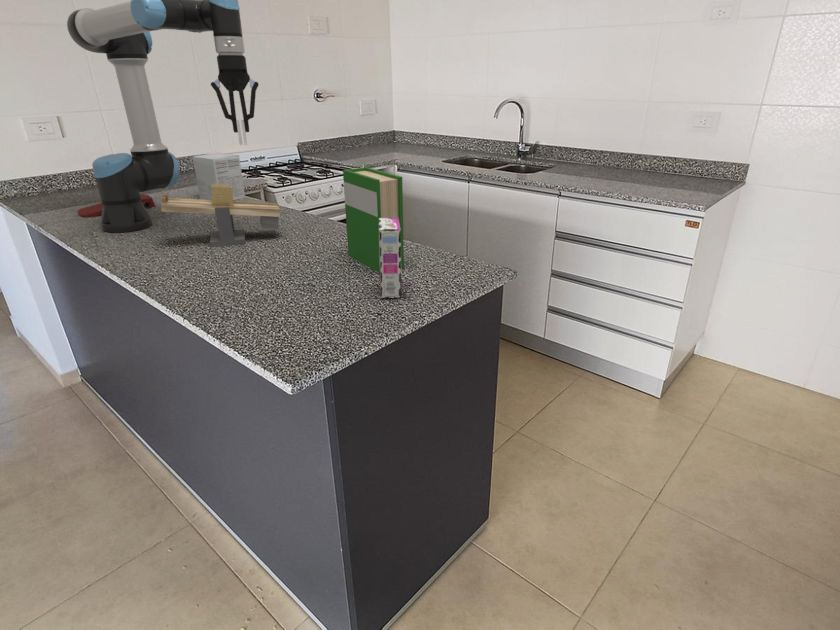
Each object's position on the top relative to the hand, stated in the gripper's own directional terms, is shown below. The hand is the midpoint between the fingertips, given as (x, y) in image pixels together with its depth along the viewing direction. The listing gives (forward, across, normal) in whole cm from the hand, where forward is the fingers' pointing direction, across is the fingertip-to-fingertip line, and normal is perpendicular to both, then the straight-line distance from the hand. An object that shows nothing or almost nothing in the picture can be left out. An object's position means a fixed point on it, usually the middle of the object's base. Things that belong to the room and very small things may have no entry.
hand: (243, 144), depth 153 cm
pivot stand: (+28, -8, 0) cm, 30 cm away
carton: (+29, -50, +55) cm, 80 cm away
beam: (+23, -9, 0) cm, 25 cm away
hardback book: (+29, +30, -35) cm, 55 cm away
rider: (+18, -8, 0) cm, 20 cm away
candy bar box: (+29, +30, -56) cm, 69 cm away
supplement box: (+29, -12, +63) cm, 71 cm away
